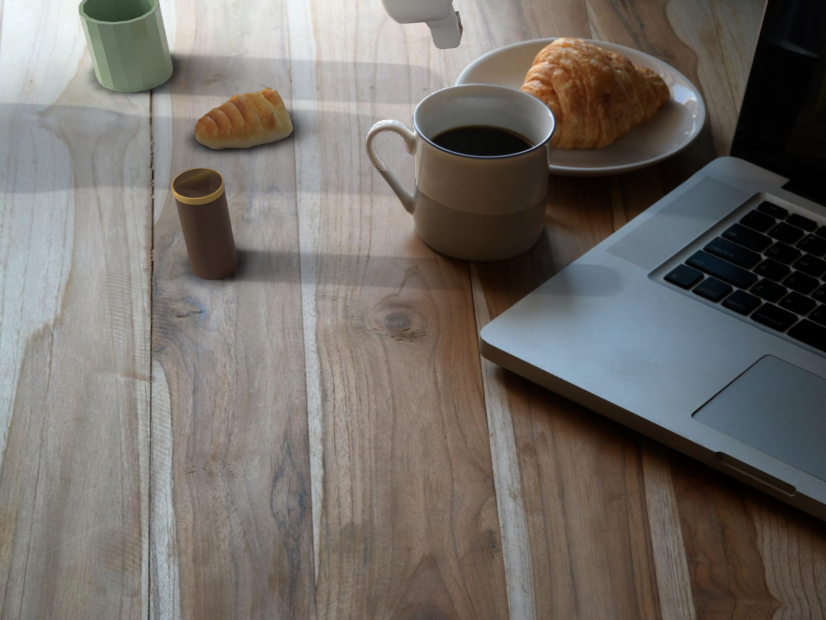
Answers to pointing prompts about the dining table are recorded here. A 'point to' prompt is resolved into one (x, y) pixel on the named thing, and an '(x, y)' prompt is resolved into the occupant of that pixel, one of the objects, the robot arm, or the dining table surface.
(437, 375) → the dining table surface
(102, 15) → the canister
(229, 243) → the tube
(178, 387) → the dining table surface
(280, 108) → the pastry
